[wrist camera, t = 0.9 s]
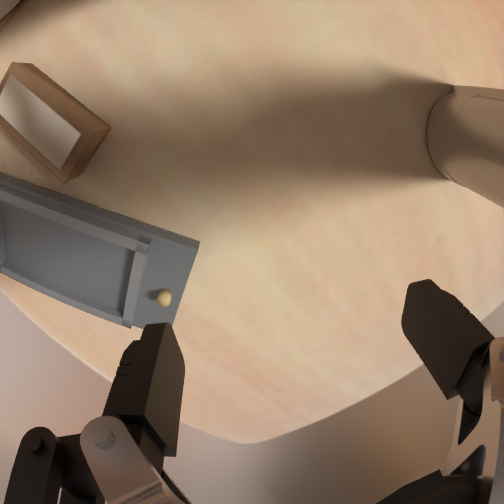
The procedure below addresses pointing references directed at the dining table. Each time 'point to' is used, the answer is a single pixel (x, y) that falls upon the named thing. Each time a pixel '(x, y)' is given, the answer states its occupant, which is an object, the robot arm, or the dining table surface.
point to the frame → (49, 121)
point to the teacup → (7, 6)
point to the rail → (92, 255)
